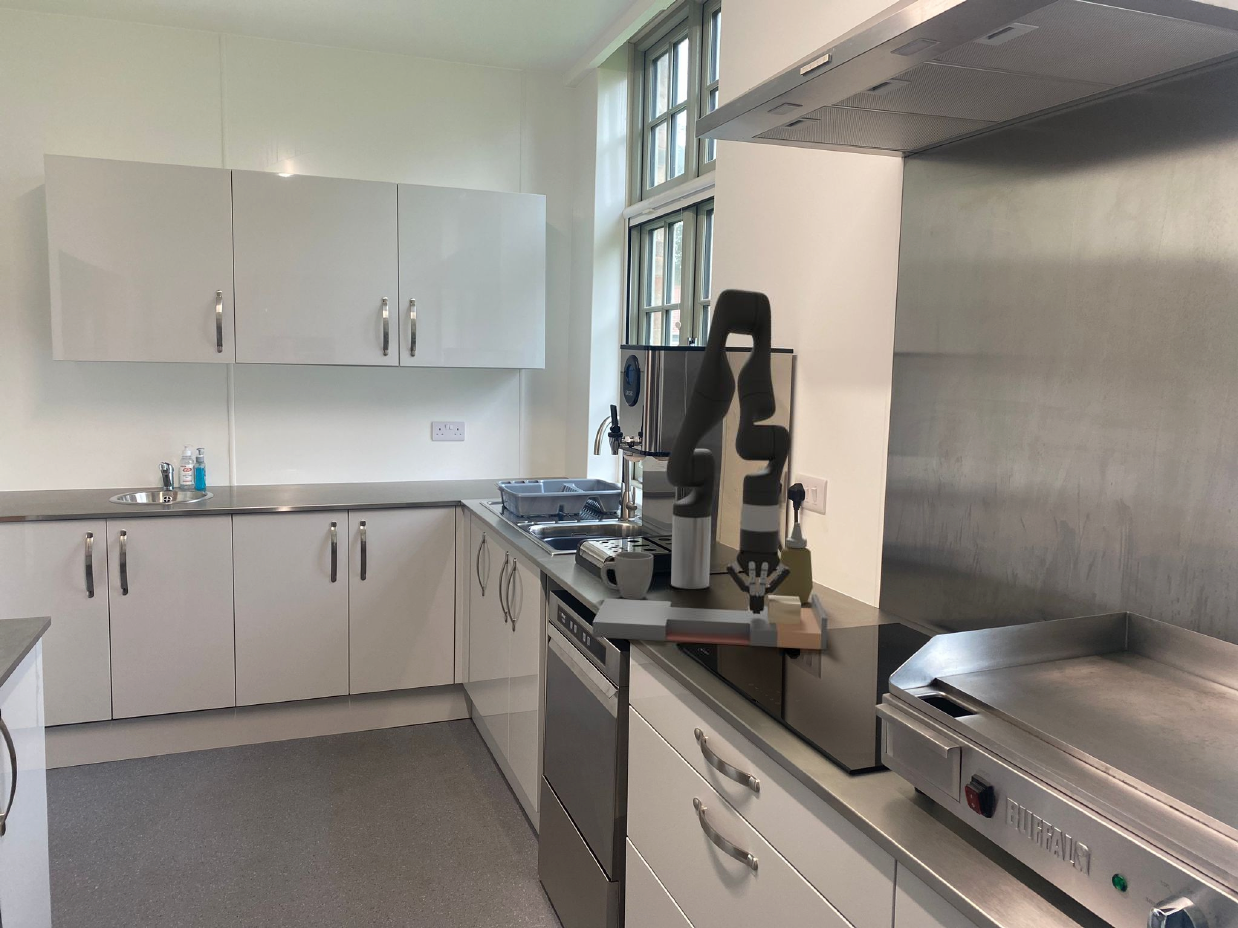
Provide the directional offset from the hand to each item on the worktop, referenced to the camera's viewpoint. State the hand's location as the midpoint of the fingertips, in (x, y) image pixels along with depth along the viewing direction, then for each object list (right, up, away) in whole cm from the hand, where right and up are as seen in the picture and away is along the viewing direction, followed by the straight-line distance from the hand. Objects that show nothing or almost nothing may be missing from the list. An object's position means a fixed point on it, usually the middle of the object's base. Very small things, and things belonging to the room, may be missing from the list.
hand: (756, 612), depth 170 cm
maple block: (+5, -1, -1) cm, 5 cm away
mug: (-25, -1, +27) cm, 37 cm away
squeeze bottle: (+13, -2, +25) cm, 28 cm away
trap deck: (-9, -4, +2) cm, 10 cm away
